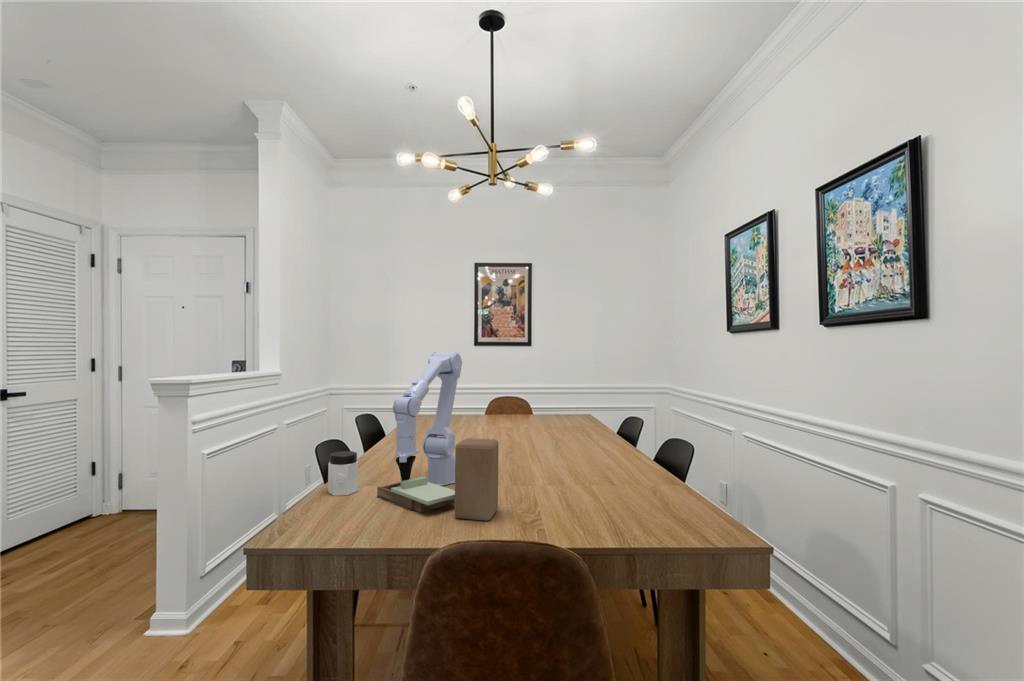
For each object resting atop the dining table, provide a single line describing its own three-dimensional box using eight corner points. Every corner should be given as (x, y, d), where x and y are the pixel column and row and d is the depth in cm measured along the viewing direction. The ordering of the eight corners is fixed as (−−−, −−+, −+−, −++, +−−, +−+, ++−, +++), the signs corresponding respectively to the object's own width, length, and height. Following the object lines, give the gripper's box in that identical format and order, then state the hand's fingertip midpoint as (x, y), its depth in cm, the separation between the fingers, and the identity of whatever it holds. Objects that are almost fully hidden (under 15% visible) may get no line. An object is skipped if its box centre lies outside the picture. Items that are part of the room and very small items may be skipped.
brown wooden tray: (426, 485, 167) (426, 476, 168) (467, 499, 153) (467, 489, 153) (377, 496, 155) (377, 487, 155) (417, 513, 140) (417, 502, 140)
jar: (325, 496, 155) (325, 456, 155) (330, 488, 163) (331, 451, 163) (355, 495, 156) (356, 456, 156) (359, 488, 164) (360, 450, 164)
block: (489, 522, 133) (490, 445, 134) (453, 519, 135) (454, 443, 136) (498, 510, 143) (499, 438, 143) (464, 507, 145) (465, 437, 145)
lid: (424, 484, 158) (424, 474, 158) (462, 496, 145) (462, 485, 145) (390, 491, 149) (391, 481, 149) (427, 505, 137) (427, 493, 137)
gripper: (417, 440, 148) (416, 487, 148) (421, 432, 163) (421, 474, 162) (392, 440, 148) (391, 487, 147) (399, 432, 162) (398, 475, 162)
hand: (405, 481), depth 155 cm, fingers closed
